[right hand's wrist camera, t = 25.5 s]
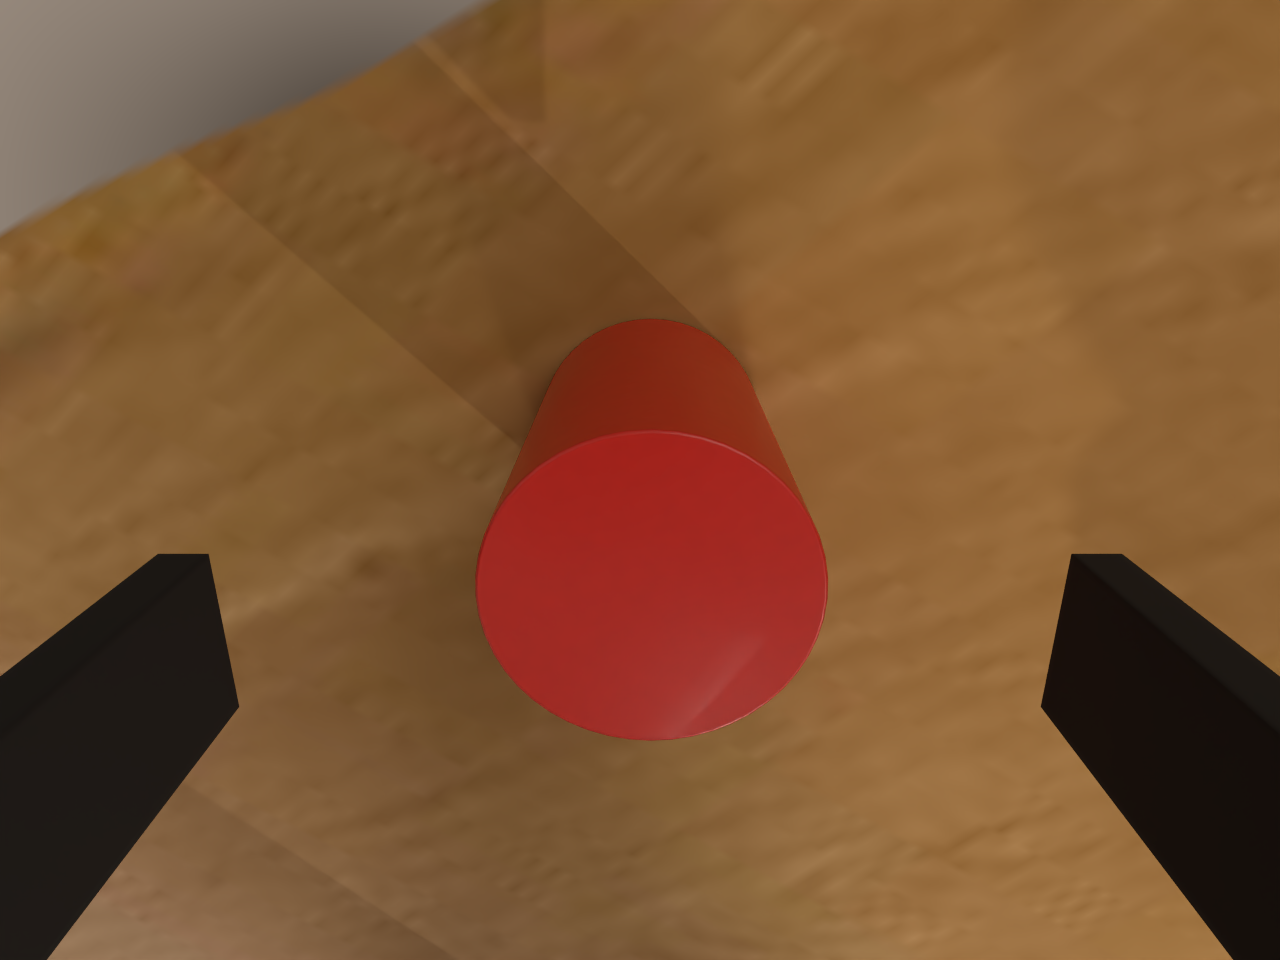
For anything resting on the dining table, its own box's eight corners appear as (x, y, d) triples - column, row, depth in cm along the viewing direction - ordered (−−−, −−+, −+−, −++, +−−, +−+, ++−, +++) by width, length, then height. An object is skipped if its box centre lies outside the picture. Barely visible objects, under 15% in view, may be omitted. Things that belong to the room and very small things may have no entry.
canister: (686, 558, 22) (707, 789, 14) (505, 462, 21) (416, 651, 13) (800, 389, 21) (900, 541, 12) (609, 275, 20) (580, 360, 11)
